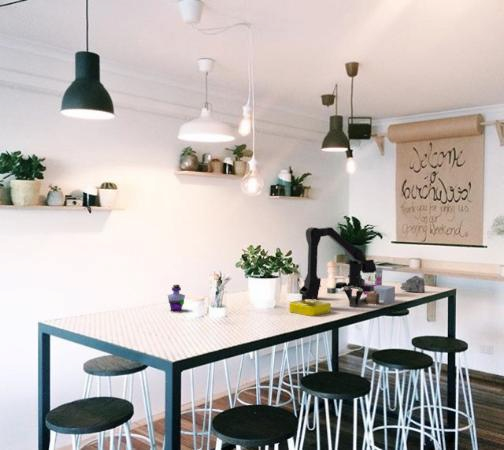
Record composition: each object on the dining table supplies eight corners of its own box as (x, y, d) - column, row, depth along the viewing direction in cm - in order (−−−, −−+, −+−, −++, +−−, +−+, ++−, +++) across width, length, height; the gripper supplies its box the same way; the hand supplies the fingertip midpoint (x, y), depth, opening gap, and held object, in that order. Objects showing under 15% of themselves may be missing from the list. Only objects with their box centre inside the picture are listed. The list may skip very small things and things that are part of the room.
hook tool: (361, 308, 261) (361, 298, 261) (349, 306, 265) (349, 296, 265) (376, 302, 279) (376, 293, 279) (364, 301, 282) (364, 291, 282)
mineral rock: (399, 291, 321) (399, 275, 321) (408, 289, 328) (409, 273, 328) (418, 294, 311) (419, 277, 311) (427, 292, 319) (428, 276, 318)
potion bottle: (181, 312, 243) (182, 286, 242) (164, 311, 244) (164, 285, 244) (187, 308, 251) (188, 283, 251) (170, 307, 253) (170, 283, 252)
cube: (375, 304, 272) (375, 295, 272) (366, 303, 275) (366, 294, 275) (378, 303, 277) (379, 293, 277) (369, 302, 279) (369, 292, 279)
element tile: (287, 311, 248) (287, 301, 248) (307, 307, 259) (307, 298, 259) (312, 316, 238) (312, 306, 238) (332, 312, 248) (332, 302, 248)
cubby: (385, 304, 272) (385, 289, 272) (368, 302, 277) (369, 287, 277) (394, 301, 284) (394, 286, 283) (378, 299, 289) (378, 285, 288)
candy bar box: (382, 296, 300) (382, 267, 300) (375, 296, 298) (375, 268, 298) (369, 293, 310) (370, 265, 310) (363, 293, 308) (363, 266, 308)
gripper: (378, 273, 267) (377, 303, 267) (344, 270, 277) (343, 299, 278) (370, 275, 258) (369, 306, 258) (335, 272, 268) (334, 302, 269)
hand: (354, 303), depth 266 cm, fingers closed on hook tool, 3 cm apart
